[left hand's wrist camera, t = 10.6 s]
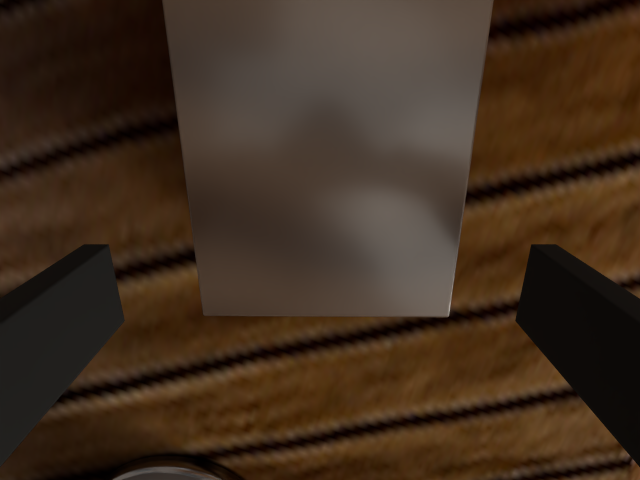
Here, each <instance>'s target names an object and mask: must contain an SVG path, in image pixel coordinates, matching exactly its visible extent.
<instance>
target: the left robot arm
mask: <svg viewBox="0 0 640 480" xmlns="http://www.w3.org/2000/svg"><path fill="white" fill-rule="evenodd" d="M124 321H125V320H124V316H123V311H122V306H121V301H120V297H119V292H118V287H117V282H116V277H115V273H114V268H113V263H112V258H111V254H110V249H109V244H84V245H82V246H81V247H79V248H78V249H76V250H75V251H73V252H72V253H70V254H69V255H67V256H65V257H64V258H62V259H61V260H59V261H58V262H56V263H55V264H53V265H52V266H50V267H48V268H47V269H45V270H44V271H42V272H41V273H39V274H38V275H36V276H35V277H33V278H32V279H30V280H28V281H27V282H25V283H24V284H22V285H21V286H19V287H18V288H16V289H15V290H13V291H12V292H10V293H8V294H7V295H5V296H4V297H2V298H1V299H0V467H1V465H2V464H3V463H4V462H5V461H6V460H7V458H8V457H9V456H10V455H11V454H12V452H13V451H14V450H15V449H16V448H17V447H18V445H19V444H20V443H21V442H22V441H23V440H24V438H25V437H26V436H27V435H28V434H29V433H30V431H31V430H32V429H33V428H34V427H35V425H36V424H37V423H38V422H39V421H40V420H41V418H42V417H43V416H44V415H45V414H46V413H47V411H48V410H49V409H50V408H51V407H52V406H53V404H54V403H55V402H56V401H57V400H58V398H59V397H60V396H61V395H62V394H63V393H64V391H65V390H66V389H67V388H68V387H69V386H70V384H71V383H72V382H73V381H74V380H75V378H76V377H77V376H78V375H79V374H80V373H81V371H82V370H83V369H84V368H85V367H86V366H87V364H88V363H89V362H90V361H91V360H92V359H93V357H94V356H95V355H96V354H97V353H98V351H99V350H100V349H101V348H102V347H103V346H104V344H105V343H106V342H107V341H108V340H109V339H110V337H111V336H112V335H113V334H114V333H115V331H116V330H117V329H118V328H119V327H120V326H121V324H122V323H123V322H124ZM515 321H516V322H517V323H518V324H519V326H520V327H521V328H522V329H523V330H524V331H525V333H526V334H527V335H528V336H529V337H530V339H531V340H532V341H533V342H534V343H535V344H536V346H537V347H538V348H539V349H540V350H541V351H542V353H543V354H544V355H545V356H546V357H547V359H548V360H549V361H550V362H551V363H552V364H553V366H554V367H555V368H556V369H557V370H558V371H559V373H560V374H561V375H562V376H563V377H564V378H565V380H566V381H567V382H568V383H569V384H570V386H571V387H572V388H573V389H574V390H575V391H576V393H577V394H578V395H579V396H580V397H581V398H582V400H583V401H584V402H585V403H586V404H587V406H588V407H589V408H590V409H591V410H592V411H593V413H594V414H595V415H596V416H597V417H598V418H599V420H600V421H601V422H602V423H603V424H604V425H605V427H606V428H607V429H608V430H609V431H610V433H611V434H612V435H613V436H614V437H615V438H616V440H617V441H618V442H619V443H620V444H621V445H622V447H623V448H624V449H625V450H626V451H627V453H628V454H629V455H630V456H631V457H632V458H633V460H634V461H635V462H636V463H637V464H638V465H639V467H640V299H639V298H638V297H636V296H635V295H633V294H632V293H630V292H628V291H627V290H625V289H624V288H622V287H621V286H619V285H618V284H616V283H615V282H613V281H612V280H610V279H608V278H607V277H605V276H604V275H602V274H601V273H599V272H598V271H596V270H595V269H593V268H592V267H590V266H588V265H587V264H585V263H584V262H582V261H581V260H579V259H578V258H576V257H575V256H573V255H571V254H570V253H568V252H567V251H565V250H564V249H562V248H561V247H559V246H558V245H556V244H531V249H530V254H529V258H528V263H527V268H526V273H525V277H524V282H523V287H522V292H521V297H520V301H519V306H518V311H517V316H516V320H515ZM104 480H242V479H240V478H239V477H237V476H236V475H234V474H233V473H231V472H229V471H227V470H225V469H224V468H221V467H219V466H217V465H214V464H211V463H208V462H205V461H202V460H198V459H193V458H188V457H179V456H157V457H149V458H143V459H139V460H136V461H133V462H130V463H127V464H125V465H123V466H121V467H119V468H118V469H116V470H114V471H113V472H112V473H111V474H109V475H108V476H107V477H106V478H105V479H104Z"/></svg>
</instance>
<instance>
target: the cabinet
mask: <svg viewBox="0 0 640 480" xmlns="http://www.w3.org/2000/svg"><path fill="white" fill-rule="evenodd" d="M162 3H163V11H164V18H165V26H166V34H167V41H168V49H169V57H170V64H171V72H172V80H173V87H174V95H175V103H176V110H177V118H178V126H179V133H180V141H181V149H182V156H183V164H184V172H185V179H186V187H187V195H188V202H189V210H190V218H191V225H192V233H193V240H194V248H195V256H196V263H197V271H198V279H199V286H200V294H201V302H202V309H203V315H204V316H337V317H448V316H449V312H450V305H451V298H452V291H453V284H454V277H455V269H456V262H457V255H458V248H459V241H460V234H461V227H462V220H463V213H464V206H465V198H466V191H467V184H468V177H469V170H470V163H471V156H472V149H473V142H474V135H475V128H476V120H477V113H478V106H479V99H480V92H481V85H482V78H483V71H484V64H485V57H486V49H487V42H488V35H489V28H490V21H491V14H492V7H493V0H162Z"/></svg>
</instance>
